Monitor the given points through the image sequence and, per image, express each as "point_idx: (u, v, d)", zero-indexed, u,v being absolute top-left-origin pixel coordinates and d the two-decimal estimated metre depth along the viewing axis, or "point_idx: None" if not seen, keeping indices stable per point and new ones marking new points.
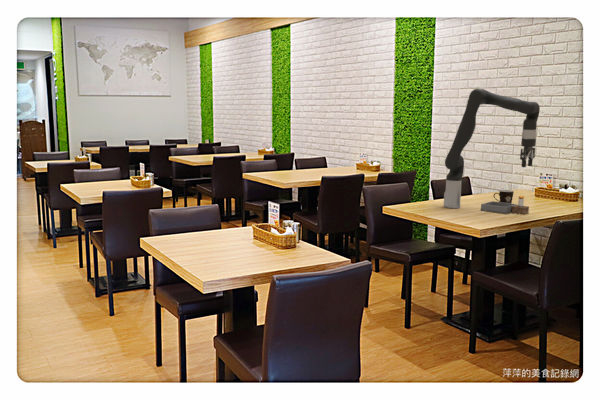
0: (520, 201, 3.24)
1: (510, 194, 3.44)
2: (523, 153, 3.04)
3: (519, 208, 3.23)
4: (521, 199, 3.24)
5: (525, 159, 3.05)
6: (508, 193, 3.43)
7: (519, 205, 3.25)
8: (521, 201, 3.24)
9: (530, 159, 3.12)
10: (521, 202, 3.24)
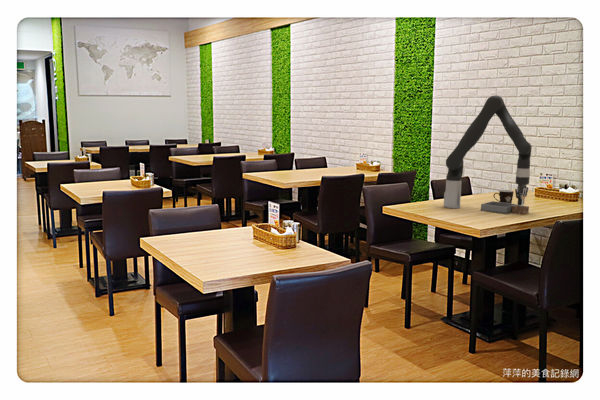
0: None
1: (510, 194, 3.44)
2: (518, 193, 3.20)
3: (519, 208, 3.23)
4: None
5: (521, 198, 3.22)
6: (508, 193, 3.43)
7: (519, 205, 3.25)
8: None
9: None
10: None
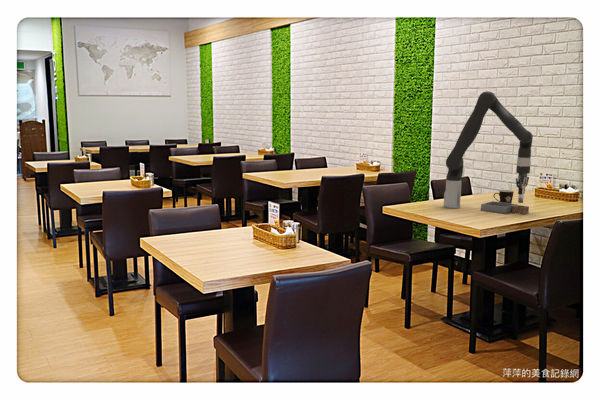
0: None
1: (510, 194, 3.44)
2: (519, 182, 3.19)
3: (519, 208, 3.23)
4: None
5: (521, 187, 3.21)
6: (508, 193, 3.43)
7: None
8: None
9: None
10: (522, 191, 3.23)
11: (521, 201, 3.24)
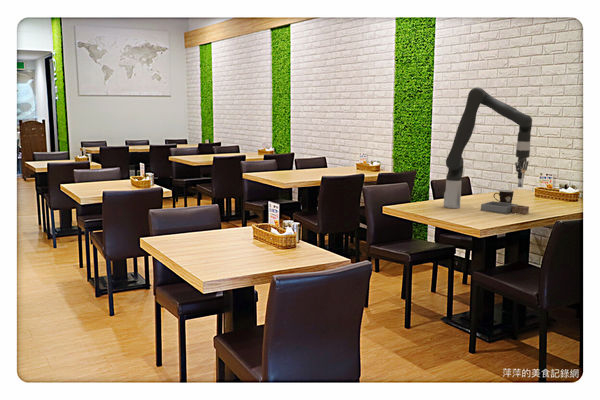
0: None
1: (510, 194, 3.44)
2: (518, 166, 3.18)
3: (519, 208, 3.23)
4: None
5: (521, 171, 3.20)
6: (508, 193, 3.43)
7: (519, 179, 3.23)
8: None
9: None
10: None
11: (521, 185, 3.23)
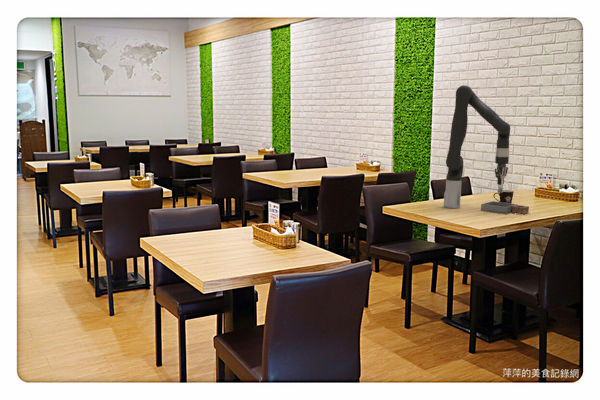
0: None
1: (510, 194, 3.44)
2: (497, 173, 3.26)
3: (519, 208, 3.23)
4: (501, 178, 3.30)
5: (500, 177, 3.28)
6: (508, 193, 3.43)
7: None
8: None
9: None
10: None
11: (500, 191, 3.31)
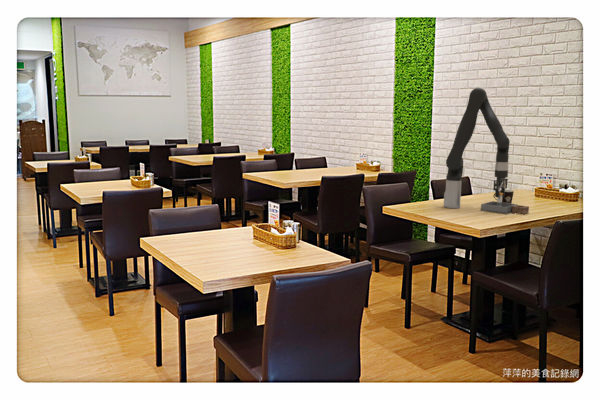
0: (499, 197, 3.32)
1: (510, 194, 3.44)
2: (496, 184, 3.27)
3: (519, 208, 3.23)
4: (500, 195, 3.32)
5: (498, 190, 3.28)
6: (508, 193, 3.43)
7: (498, 201, 3.33)
8: (500, 197, 3.32)
9: (502, 189, 3.35)
10: (500, 198, 3.32)
11: None
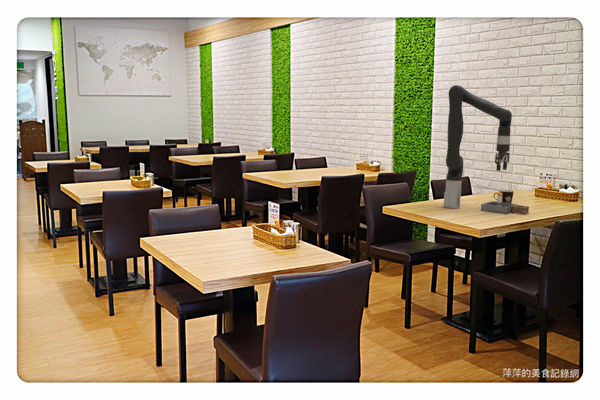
0: (499, 198, 3.32)
1: (510, 194, 3.44)
2: (497, 158, 3.24)
3: (519, 208, 3.23)
4: (500, 196, 3.32)
5: (499, 163, 3.25)
6: (508, 193, 3.43)
7: (498, 201, 3.33)
8: (500, 197, 3.32)
9: (505, 163, 3.33)
10: (500, 198, 3.32)
11: None
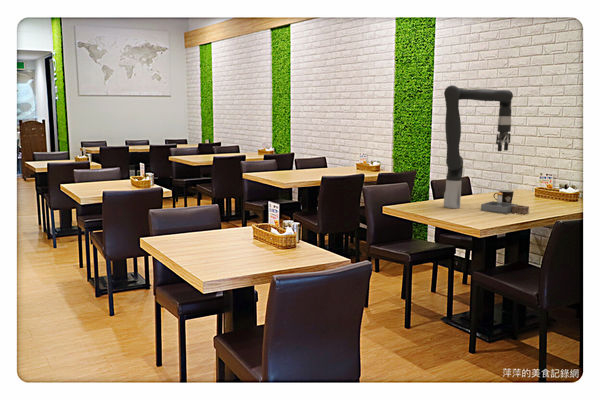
0: (499, 198, 3.32)
1: (510, 194, 3.44)
2: (499, 138, 3.26)
3: (519, 208, 3.23)
4: (500, 196, 3.32)
5: (501, 144, 3.28)
6: (508, 193, 3.43)
7: (498, 201, 3.33)
8: (500, 197, 3.32)
9: (506, 144, 3.35)
10: (500, 198, 3.32)
11: None
